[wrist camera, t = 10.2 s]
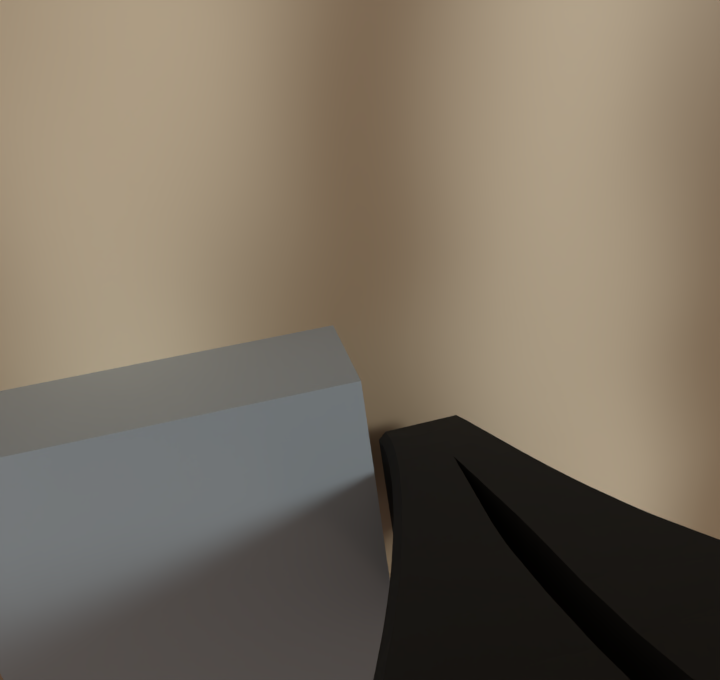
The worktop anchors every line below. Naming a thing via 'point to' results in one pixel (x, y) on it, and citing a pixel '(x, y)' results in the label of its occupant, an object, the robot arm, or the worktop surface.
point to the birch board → (386, 212)
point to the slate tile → (193, 520)
